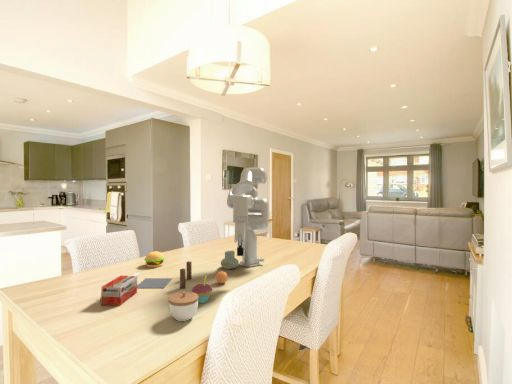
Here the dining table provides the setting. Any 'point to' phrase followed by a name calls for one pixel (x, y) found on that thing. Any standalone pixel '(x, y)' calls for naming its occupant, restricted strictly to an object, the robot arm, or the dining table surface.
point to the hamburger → (154, 259)
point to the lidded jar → (183, 305)
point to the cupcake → (202, 291)
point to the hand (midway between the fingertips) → (240, 255)
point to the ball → (221, 277)
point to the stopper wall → (137, 275)
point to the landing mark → (154, 283)
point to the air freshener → (229, 260)
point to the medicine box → (118, 290)
